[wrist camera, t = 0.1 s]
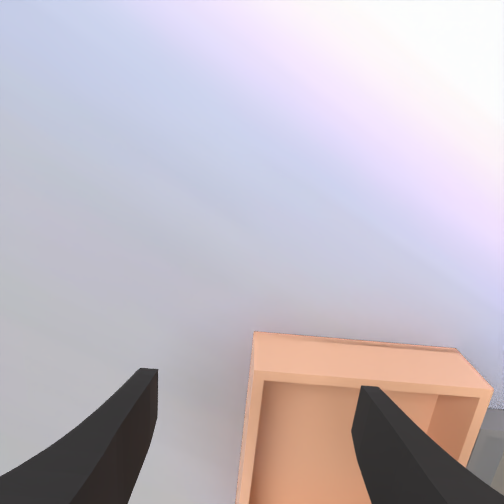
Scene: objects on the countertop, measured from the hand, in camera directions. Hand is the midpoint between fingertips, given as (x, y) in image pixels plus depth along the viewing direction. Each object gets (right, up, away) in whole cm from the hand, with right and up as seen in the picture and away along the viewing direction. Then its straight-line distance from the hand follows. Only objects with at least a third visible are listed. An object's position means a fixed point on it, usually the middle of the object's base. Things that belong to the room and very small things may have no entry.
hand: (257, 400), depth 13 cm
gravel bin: (+6, -8, +13) cm, 16 cm away
